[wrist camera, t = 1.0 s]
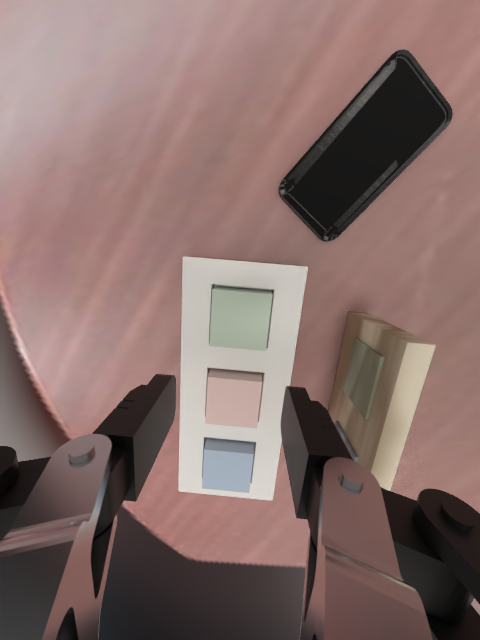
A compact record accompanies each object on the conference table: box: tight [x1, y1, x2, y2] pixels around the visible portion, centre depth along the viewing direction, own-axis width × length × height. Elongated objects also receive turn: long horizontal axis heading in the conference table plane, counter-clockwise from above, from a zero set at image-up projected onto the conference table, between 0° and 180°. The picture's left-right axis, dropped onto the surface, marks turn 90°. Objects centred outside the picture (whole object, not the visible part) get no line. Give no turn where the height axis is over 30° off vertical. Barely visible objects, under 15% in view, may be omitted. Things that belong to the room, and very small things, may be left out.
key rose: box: [205, 368, 262, 429], centre depth 26 cm, size 6×6×3 cm
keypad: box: [179, 256, 308, 501], centre depth 27 cm, size 12×29×3 cm, turn 175°
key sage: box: [209, 286, 273, 351], centre depth 24 cm, size 6×6×3 cm
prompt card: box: [328, 312, 436, 491], centre depth 24 cm, size 2×20×10 cm, turn 175°
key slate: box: [202, 437, 254, 493], centre depth 28 cm, size 6×6×3 cm
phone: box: [279, 50, 452, 241], centre depth 22 cm, size 8×1×15 cm
